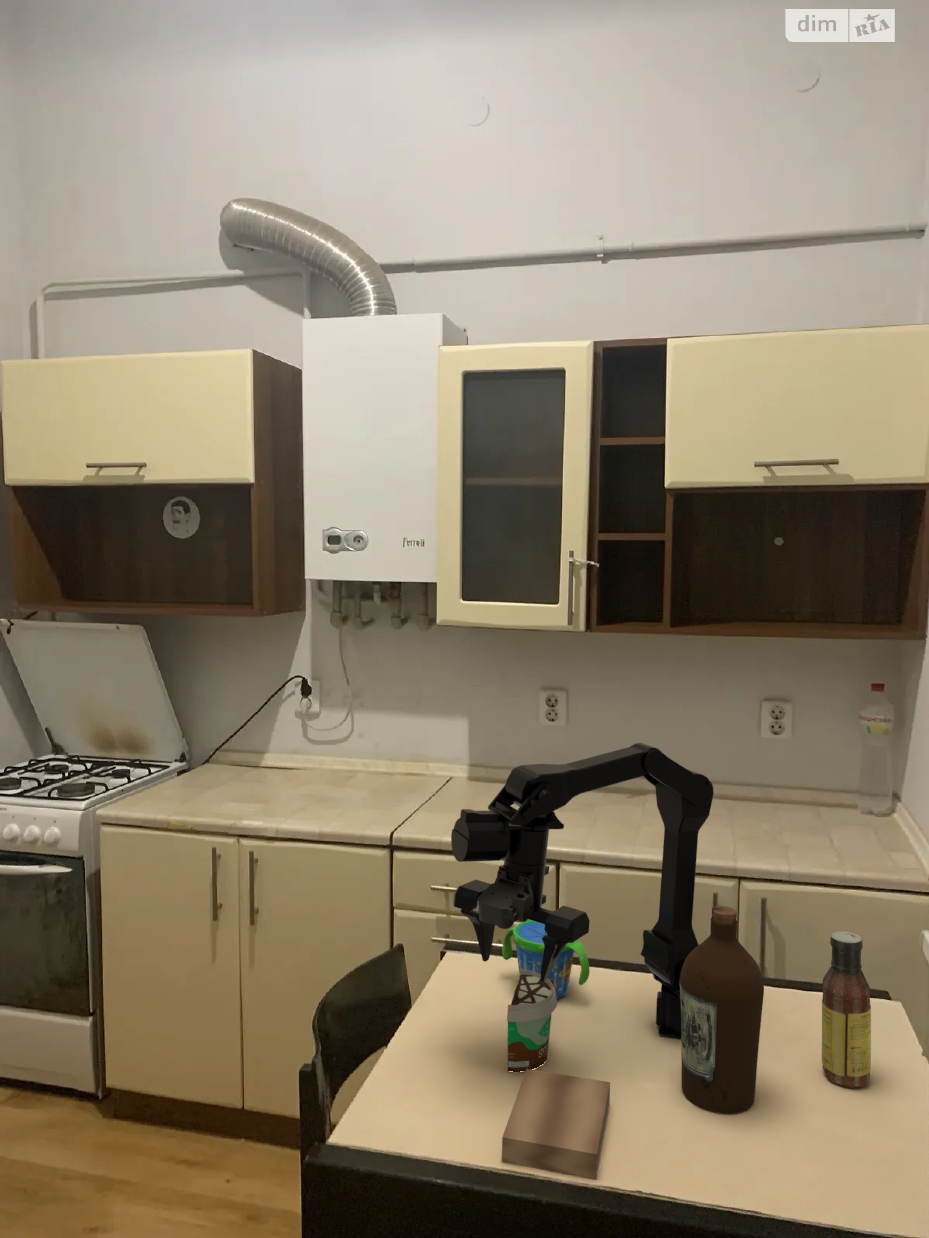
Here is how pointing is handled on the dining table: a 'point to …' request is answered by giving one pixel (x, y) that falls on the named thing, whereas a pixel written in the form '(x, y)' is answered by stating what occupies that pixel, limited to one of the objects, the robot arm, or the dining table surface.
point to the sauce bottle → (846, 1014)
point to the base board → (557, 1124)
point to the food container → (530, 1021)
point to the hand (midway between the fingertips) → (514, 970)
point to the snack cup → (532, 954)
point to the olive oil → (720, 1019)
